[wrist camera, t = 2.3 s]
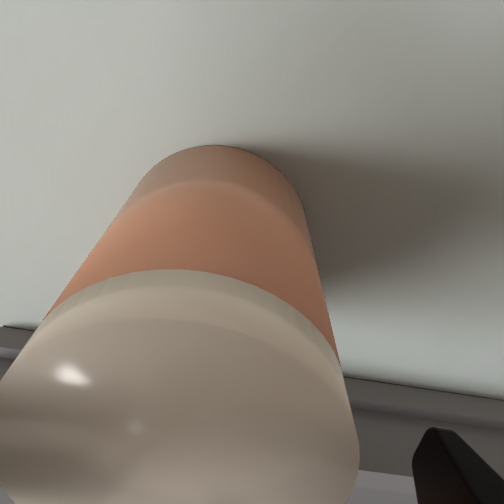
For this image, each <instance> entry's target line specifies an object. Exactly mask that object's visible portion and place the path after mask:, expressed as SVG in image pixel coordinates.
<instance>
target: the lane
mask: <svg viewBox="0 0 504 504" xmlns="http://www.w3.org/2000/svg"><path fill="white" fill-rule="evenodd" d="M34 332H35V331H28V330H21V329H14V328H8V327H0V381H1V379H2V378H3V376H4V375H5V373H6V372H7V371H8V369H9V368H10V366H11V365H12V363H13V362H14V361H15V359H16V358H17V356H18V355H19V353H20V352H21V351H22V349H23V348H24V346H25V345H26V344H27V342H28V341H29V339H30V338H31V336H32V335H33V334H34ZM343 378H344V382H345V386H346V391H347V395H348V399H349V403H350V408H351V412H352V416H353V420H354V424H355V429H356V433H357V437H358V441H359V452H360V463H359V470H358V476H357V479H356V482H355V485H354V488H353V491H352V493H351V494H350V496H349V498H348V500H347V501H346V503H345V504H418V503H417V496H416V490H415V484H414V478H413V472H412V458H413V454H414V452H415V450H416V448H417V446H418V445H419V443H420V441H421V439H422V437H423V435H424V433H425V431H426V430H427V429H428V428H429V427H432V426H435V427H442V428H449V429H452V430H453V431H455V432H456V433H457V434H458V435H459V436H460V437H461V438H462V439H463V440H464V441H465V442H466V443H467V444H468V445H469V446H470V447H471V448H472V449H473V450H474V451H475V452H476V453H477V454H478V455H479V456H480V457H481V458H483V459H484V460H485V461H486V462H487V463H488V464H489V465H490V466H491V467H492V468H493V469H494V470H495V471H496V472H497V473H498V474H499V475H500V476H501V477H502V478H503V479H504V401H501V400H494V399H488V398H481V397H474V396H467V395H461V394H454V393H447V392H440V391H434V390H427V389H420V388H413V387H406V386H400V385H393V384H386V383H379V382H373V381H366V380H359V379H352V378H346V377H343ZM0 504H15V503H14V501H13V500H12V499H11V498H10V497H9V496H8V494H7V493H6V492H5V491H4V489H3V488H2V486H1V485H0Z"/></svg>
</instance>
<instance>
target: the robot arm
mask: <svg viewBox="0 0 504 504" xmlns="http://www.w3.org/2000/svg"><path fill="white" fill-rule="evenodd" d="M412 472H413V478H414V484H415V490H416V496H417V503H418V504H504V479H503V478H502V477H501V476H500V475H499V474H498V473H497V472H496V471H495V470H494V469H493V468H492V467H491V466H490V465H489V464H488V463H487V462H486V461H485V460H484V459H483V458H481V457H480V456H479V455H478V454H477V453H476V452H475V451H474V450H473V449H472V448H471V447H470V446H469V445H468V444H467V443H466V442H465V441H464V440H463V439H462V438H461V437H460V436H459V435H458V434H457V433H456V432H455V431H453V430H452V429H449V428H442V427H435V426H432V427H429V428H428V429H427V430H426V431H425V433H424V435H423V437H422V439H421V441H420V443H419V445H418V446H417V448H416V450H415V452H414V454H413V458H412Z"/></svg>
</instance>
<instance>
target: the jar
mask: <svg viewBox="0 0 504 504" xmlns="http://www.w3.org/2000/svg"><path fill="white" fill-rule="evenodd" d="M359 463H360V452H359V441H358V437H357V433H356V429H355V424H354V420H353V416H352V412H351V408H350V403H349V399H348V395H347V391H346V386H345V382H344V378H343V374H342V370H341V365H340V361H339V357H338V353H337V348H336V344H335V340H334V336H333V332H332V327H331V323H330V319H329V315H328V311H327V306H326V302H325V298H324V294H323V289H322V285H321V281H320V277H319V273H318V268H317V264H316V260H315V256H314V252H313V247H312V243H311V239H310V235H309V230H308V226H307V222H306V218H305V214H304V210H303V206H302V203H301V201H300V199H299V196H298V194H297V193H296V191H295V189H294V187H293V186H292V185H291V183H290V182H289V181H288V179H287V178H286V177H285V176H284V175H283V174H282V173H281V172H280V171H279V170H278V169H277V168H276V167H274V166H273V165H272V164H270V163H269V162H268V161H266V160H264V159H262V158H261V157H259V156H257V155H255V154H253V153H250V152H247V151H245V150H242V149H238V148H234V147H228V146H219V145H208V146H199V147H193V148H189V149H185V150H182V151H179V152H177V153H175V154H173V155H170V156H168V157H167V158H165V159H164V160H162V161H160V162H159V163H158V164H157V165H155V166H154V167H153V168H152V169H151V170H150V171H149V172H148V173H147V174H146V175H145V176H144V177H143V179H142V180H141V181H140V183H139V184H138V186H137V187H136V189H135V190H134V191H133V193H132V194H131V196H130V197H129V199H128V200H127V201H126V203H125V204H124V206H123V207H122V208H121V210H120V211H119V213H118V214H117V216H116V217H115V218H114V220H113V221H112V223H111V224H110V226H109V227H108V228H107V230H106V231H105V233H104V234H103V236H102V237H101V238H100V240H99V241H98V243H97V244H96V245H95V247H94V248H93V250H92V251H91V253H90V254H89V255H88V257H87V258H86V260H85V261H84V263H83V264H82V265H81V267H80V268H79V270H78V271H77V272H76V274H75V275H74V277H73V278H72V280H71V281H70V282H69V284H68V285H67V287H66V288H65V290H64V291H63V292H62V294H61V295H60V297H59V298H58V299H57V301H56V302H55V304H54V305H53V307H52V308H51V309H50V311H49V312H48V314H47V315H46V317H45V318H44V319H43V321H42V322H41V324H40V325H39V326H38V328H37V329H36V331H35V332H34V334H33V335H32V336H31V338H30V339H29V341H28V342H27V344H26V345H25V346H24V348H23V349H22V351H21V352H20V353H19V355H18V356H17V358H16V359H15V361H14V362H13V363H12V365H11V366H10V368H9V369H8V371H7V372H6V373H5V375H4V376H3V378H2V379H1V381H0V485H1V486H2V488H3V489H4V491H5V492H6V493H7V494H8V496H9V497H10V498H11V499H12V500H13V501H14V503H15V504H345V503H346V501H347V500H348V498H349V496H350V494H351V493H352V491H353V488H354V485H355V482H356V479H357V476H358V470H359Z"/></svg>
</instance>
